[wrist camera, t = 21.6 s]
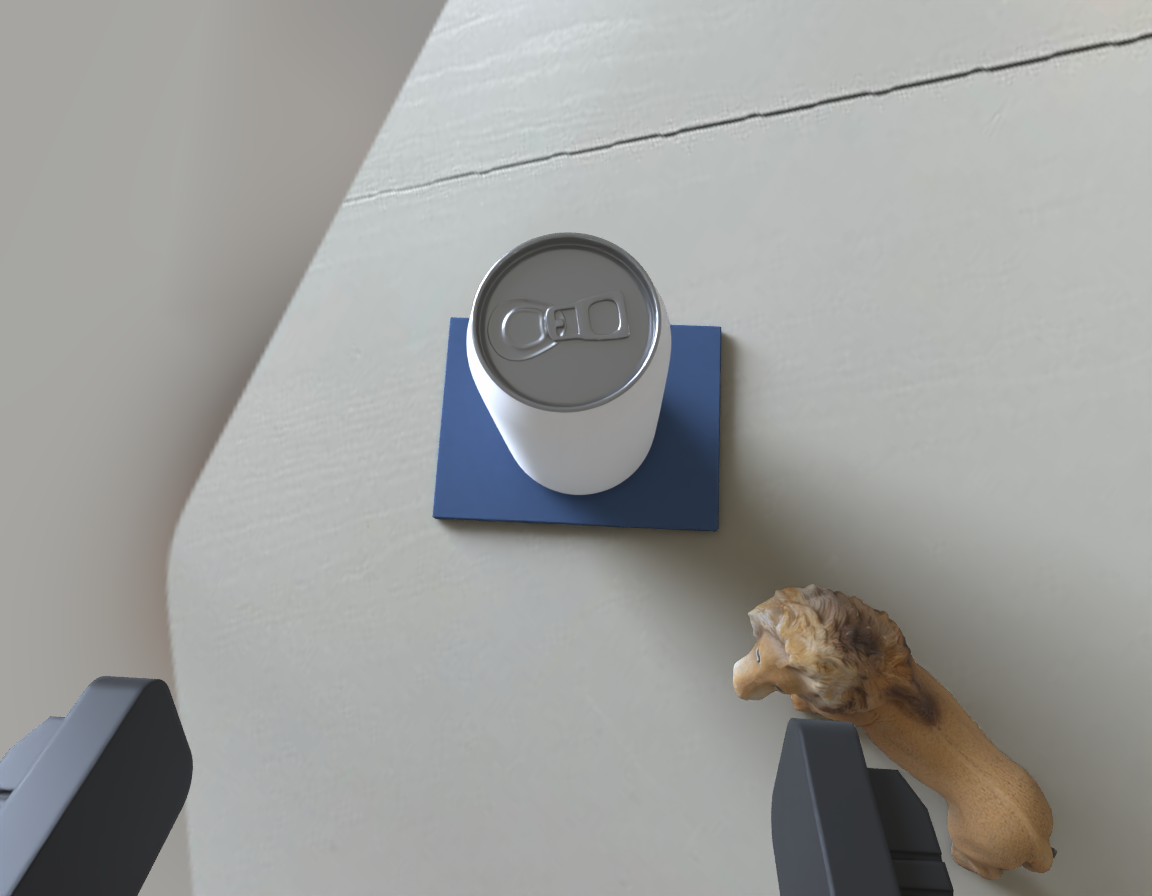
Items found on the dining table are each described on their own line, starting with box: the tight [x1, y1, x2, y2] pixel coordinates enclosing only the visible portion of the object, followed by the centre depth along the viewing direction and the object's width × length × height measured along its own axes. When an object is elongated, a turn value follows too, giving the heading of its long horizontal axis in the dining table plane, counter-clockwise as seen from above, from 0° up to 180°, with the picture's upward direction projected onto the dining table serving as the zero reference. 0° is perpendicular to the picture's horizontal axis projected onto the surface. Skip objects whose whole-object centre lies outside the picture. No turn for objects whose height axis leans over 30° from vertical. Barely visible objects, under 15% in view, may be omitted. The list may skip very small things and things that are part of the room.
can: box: [467, 233, 671, 495], centre depth 31 cm, size 6×6×12 cm
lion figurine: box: [733, 584, 1057, 879], centre depth 29 cm, size 15×5×9 cm, turn 53°
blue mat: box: [433, 318, 721, 531], centre depth 37 cm, size 12×9×1 cm
